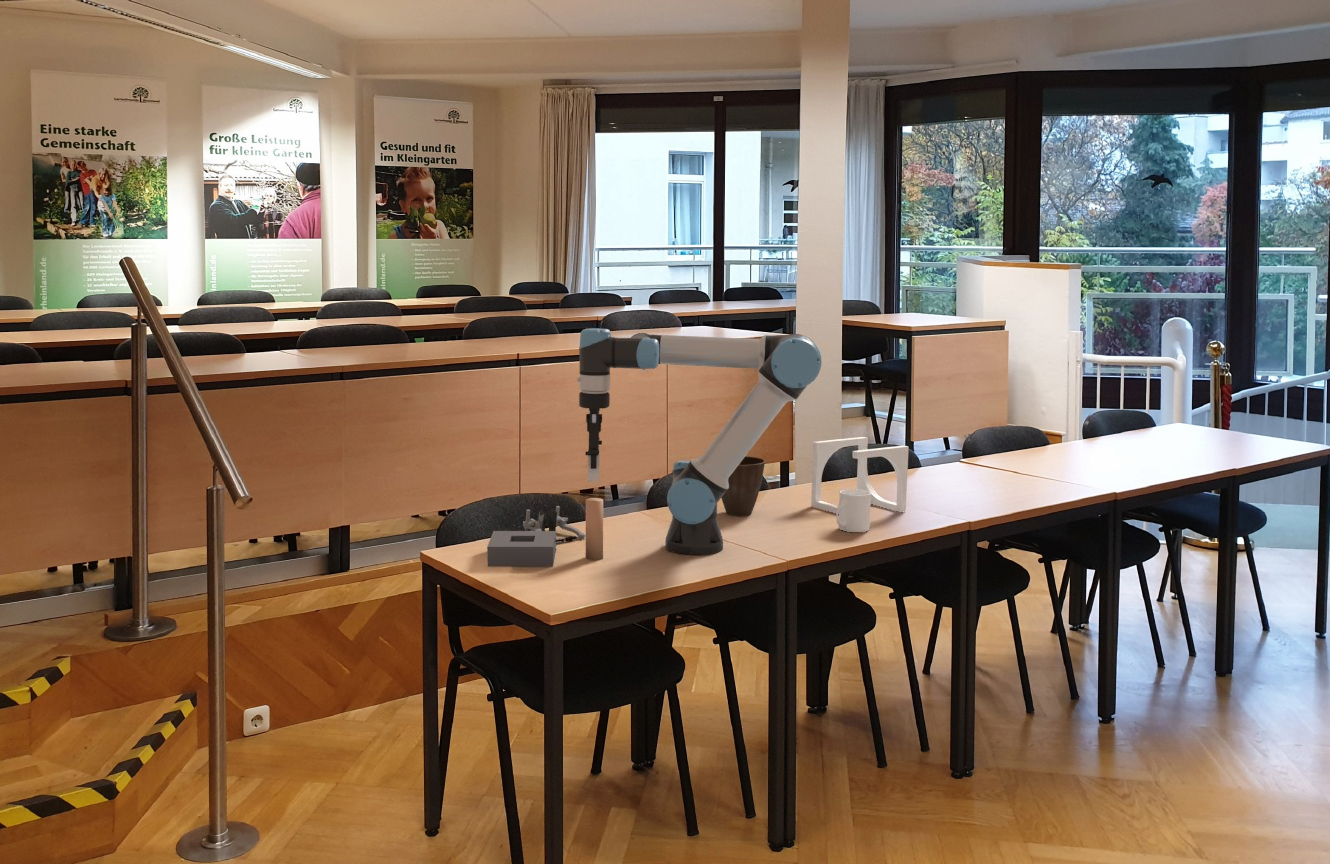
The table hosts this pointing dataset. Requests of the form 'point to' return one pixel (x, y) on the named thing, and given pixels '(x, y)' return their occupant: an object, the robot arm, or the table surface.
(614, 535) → the table surface
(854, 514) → the mug
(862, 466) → the white piece
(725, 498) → the plant pot
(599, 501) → the peg
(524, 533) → the socket block
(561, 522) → the bike brake
